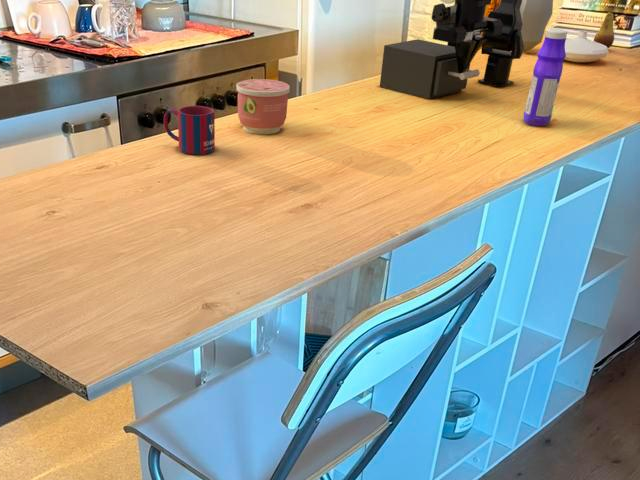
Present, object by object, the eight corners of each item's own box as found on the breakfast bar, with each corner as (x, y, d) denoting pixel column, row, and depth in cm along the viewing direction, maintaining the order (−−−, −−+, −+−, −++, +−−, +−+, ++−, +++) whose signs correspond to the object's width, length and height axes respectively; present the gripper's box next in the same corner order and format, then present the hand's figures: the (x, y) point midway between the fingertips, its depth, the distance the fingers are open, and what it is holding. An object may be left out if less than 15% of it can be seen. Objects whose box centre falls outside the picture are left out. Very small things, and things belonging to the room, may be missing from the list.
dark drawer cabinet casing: (461, 91, 194) (468, 49, 188) (429, 99, 187) (435, 56, 181) (412, 79, 202) (417, 39, 196) (379, 86, 195) (384, 45, 189)
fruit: (614, 50, 238) (627, 2, 230) (605, 52, 235) (619, 4, 227) (596, 47, 241) (609, -1, 233) (587, 49, 238) (600, 1, 230)
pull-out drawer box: (482, 92, 189) (489, 59, 185) (453, 100, 183) (459, 65, 179) (420, 77, 199) (424, 45, 195) (390, 84, 193) (394, 51, 189)
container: (228, 123, 166) (228, 80, 161) (275, 119, 170) (277, 77, 164) (247, 138, 159) (248, 93, 154) (295, 133, 162) (298, 89, 157)
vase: (538, 60, 224) (545, 31, 219) (557, 51, 234) (564, 23, 229) (595, 69, 217) (603, 39, 212) (612, 60, 227) (620, 31, 222)
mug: (202, 157, 149) (201, 117, 144) (157, 147, 153) (155, 108, 148) (221, 148, 153) (221, 109, 149) (177, 139, 157) (176, 101, 153)
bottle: (550, 128, 171) (573, 33, 160) (522, 126, 172) (544, 31, 160) (548, 119, 176) (570, 27, 165) (521, 117, 177) (541, 25, 166)
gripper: (468, -16, 185) (456, 61, 195) (418, -9, 174) (407, 71, 185) (511, -9, 179) (495, 70, 189) (461, -2, 168) (448, 81, 179)
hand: (461, 73), depth 185 cm, fingers closed
